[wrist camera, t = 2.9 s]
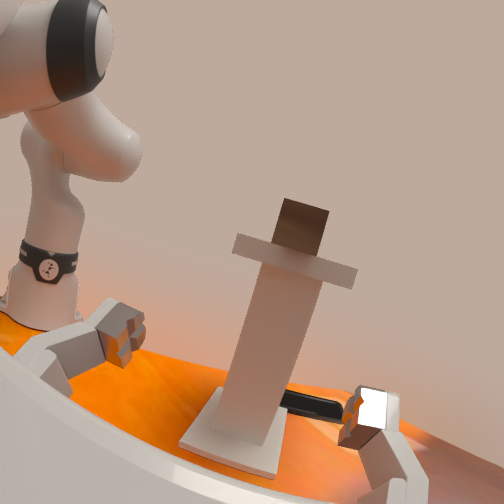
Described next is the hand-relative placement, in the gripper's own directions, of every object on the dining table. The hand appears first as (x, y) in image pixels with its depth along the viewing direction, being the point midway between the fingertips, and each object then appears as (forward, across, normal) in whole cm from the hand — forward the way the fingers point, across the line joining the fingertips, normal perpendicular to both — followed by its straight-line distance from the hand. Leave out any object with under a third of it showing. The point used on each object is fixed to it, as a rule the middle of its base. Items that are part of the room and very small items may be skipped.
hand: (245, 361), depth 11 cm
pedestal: (+14, 0, +34) cm, 36 cm away
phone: (+25, -9, +41) cm, 49 cm away
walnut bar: (+22, 0, +8) cm, 23 cm away
